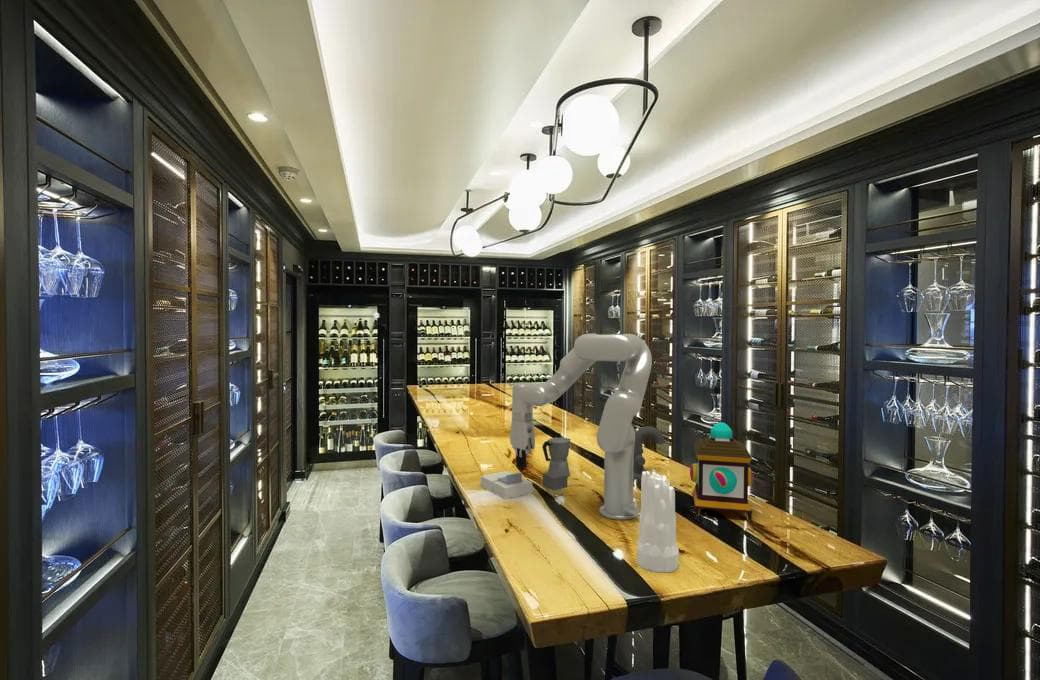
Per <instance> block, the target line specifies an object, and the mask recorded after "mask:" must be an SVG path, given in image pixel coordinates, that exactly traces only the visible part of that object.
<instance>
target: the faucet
mask: <svg viewBox="0 0 1040 680" xmlns="http://www.w3.org/2000/svg"><path fill="white" fill-rule="evenodd" d="M646 438H651V439H652V440H653V443H655V444H658V445H664V444H665V442H666V441H665V437H664V435H663V433H662V432H661V431H660V430H659V429H658V428H656V427H653V426H651V425H649V426H648V425H647V426H642V427H640V428H638V429H637V430H636V431H635V445H634V460H633V480H641V478H642V472H644V471H645V472H646V471H647V469H646V468H645V466H644V465H645V464H646V461H647V460H646V458H645V457H644V456H643V454H644V449H643V441H644V439H646Z"/></svg>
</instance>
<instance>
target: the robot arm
mask: <svg viewBox="0 0 1040 680" xmlns="http://www.w3.org/2000/svg"><path fill="white" fill-rule="evenodd" d="M599 361H600V362H625V365H624V366H625V367H624V369H623V371H622V374H621V378H620V381H619V385H618V388H617V391H615V392H613V393H612V394H611V395H610V396H609V397H608V398H607V400H606V402H605V403H604V409H603V411H602V415H601V418H600V421H599V425H598V428H597V432H596V441H597V445H598V447H599V448H600V450H601V451H603V452H604V463H603V464H604V466H603V469H604V470H603V471H604V472H603V476H604V477H603V478H604V479H603V487H604V489H603V494H604V495H603V502H604V503H603V505H601V506H600V507H599V511H598V512H599V514H600V515H601V516H604V517H605V518H607V519H611V520H621V521H623V520H624V521H625V520H632V519H635V518H636V517H638V516H639V514H640V512H641V508H638V507H636V502H635V501H634V479H633V460H634V445H635V432H636V431H635V428H634V426H633V424H632V422H633V421H634V420H633V419H634V417H635V416H637V415H638V413H640V410H641V409H642V404H643V400H644V398H645V397H644V396H645V394H646V390H647V387H648V381H649V378H650V375H651V372H652V371H651V369H652V365H653V363H652V362H653V358H652V352H651V350H650V348H649V346H648V345H647V343H646V341H644V340H643V338H641V337H639V336H638V335H636V334H632V333H623V334H597V333H584V334H582V335H579V337H577V338H576V339H575V341H574V344H573V348H572V349H571V350H570V351H569V352H568V353H566V354H565V356H563V358H561V359H560V362H559V368H558V370H557V371H556V372H555V373H554V374H553V375H552V376H551V377H550V378H549V379H548V380H546V381H545V382H543V383H540V384H539V383H538V384H535V385H533V384H532V383H530V382H523V381H522V382H515V383H514V384H513V385H512V392H511V393H512V396H511V398H512V399H511V400H512V401H511V403H512V404H511V424H510V433H509V441H510V442H509V443H510V446H511V448H512V449H513V450H514V451H515V456H516V460H515V462H516V463H515V465H516V466H515V467H516V468H518V469H523V468H526V467H527V457H528V455H530V454H532V450H534V449H535V447H536V436H535V435H536V431H535V425H534V422H533V418H534V417H533V416H534V413H533V412H534V409H533V408H534V407H543V406H546V405H548V404H552V403H553V402H555V401H556V400H558V399H559V398H561V397H562V395H564V394H565V392H566V391H567V392H568V390H569V389H570V387H572V386H573V384H575V382H576V381H577V380H578V379H579V378H580V376H582V375H583V374H584V373H585V372H586V371H587V370H588V369H590V367H592V365H593V364H595V363H596V362H599Z"/></svg>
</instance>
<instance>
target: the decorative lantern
mask: <svg viewBox="0 0 1040 680" xmlns="http://www.w3.org/2000/svg"><path fill="white" fill-rule="evenodd" d="M693 447H694V452H695V456H696V462H695V463H692V464H691V465H690V468H689V476H690V477H689V478H690V480H691V482H692V483H695V484H694V485H695V486H694V487H693V489H692V492H691V493H692V499H693V505H694V514H695V516H696V517H699V516H700V513H701V510H702V509H703V510H712V511H713V510H715V511H725V512H726V511H727V512H737V513H744V514H745V515H746V520H747V521H748V522H750V521H752V517H753V510H752V507H751V505H750V503H749V488H750V486H752V484H753V483H754V474H753V470H752V468H751V467H749V464H750V463H751V461H752V455H751V454H750V452H749V450H748V449H747V447H746V446H745V445H744V443H742V442H741V441H740V440H737V439H735V438H734V437H733V430H732V429H731V427H730V426H729V425H728V424H727V423H725V422H717V423H715V424H714V425H713V426H712V427H711V428H710V434H709V435H707V436H706V437H704V438H698V439H697V440H695V441H694V443H693Z"/></svg>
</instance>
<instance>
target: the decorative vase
mask: <svg viewBox="0 0 1040 680" xmlns="http://www.w3.org/2000/svg"><path fill="white" fill-rule="evenodd" d="M640 487H641V488H640V510H641V511H640V513H639V514H640V515H639V516H640V517H639V521H638V522H639V523H638V524H639V526H638V528H639V529H638V530H639V531H638V539H637V543H636V545H637V546H636V549H637V550H636V552H637V553H636V554H637V555H636V557H637V558H636V564H637V565H638V566H639V567H640V568H642V569H644V570H647V571H650V572H655V573H672V572H676V571H677V570H678V568H679V565H680V564H679V559H680V556H679V553H680V552H679V551H680V550H679V547H678V544H677V516H676V491H675V488H674V486H672V485H671V484H670V482H669V481H668V478H667V476H666V475H664V474H663V475H660V474H658V473H657V471H656V470H655V469H653V468H652V471H651V472H650V471H648V470H646V472H645V471H644V472H642V478H641V479H640Z"/></svg>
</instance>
